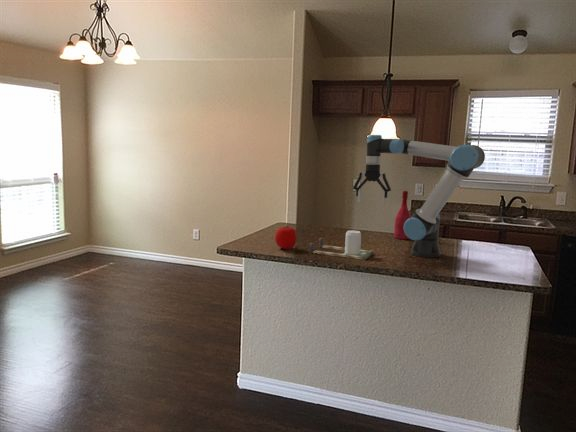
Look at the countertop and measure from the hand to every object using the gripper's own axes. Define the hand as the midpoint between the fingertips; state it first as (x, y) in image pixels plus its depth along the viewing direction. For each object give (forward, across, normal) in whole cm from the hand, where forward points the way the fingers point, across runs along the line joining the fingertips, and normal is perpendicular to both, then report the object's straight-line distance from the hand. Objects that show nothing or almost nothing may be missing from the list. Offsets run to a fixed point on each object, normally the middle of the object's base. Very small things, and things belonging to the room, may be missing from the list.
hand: (371, 203), depth 255 cm
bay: (+26, +12, +14) cm, 32 cm away
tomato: (+26, +42, +19) cm, 53 cm away
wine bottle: (+26, -12, -43) cm, 52 cm away
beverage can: (+26, +6, +14) cm, 30 cm away
